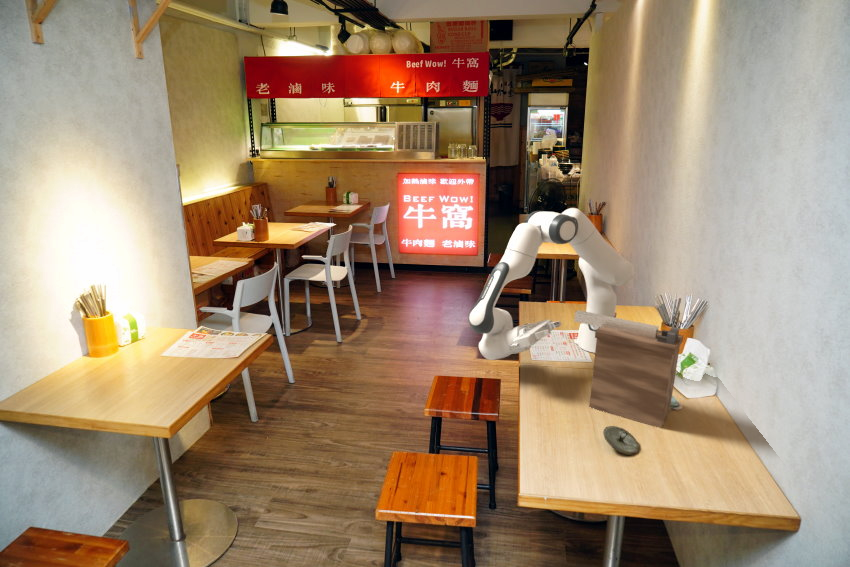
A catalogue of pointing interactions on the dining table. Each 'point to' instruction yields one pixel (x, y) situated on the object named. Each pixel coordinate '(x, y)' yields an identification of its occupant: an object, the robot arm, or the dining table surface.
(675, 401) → the pacifier
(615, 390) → the walnut stand
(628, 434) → the lid
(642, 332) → the aluminium bar
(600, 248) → the robot arm
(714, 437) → the dining table surface
